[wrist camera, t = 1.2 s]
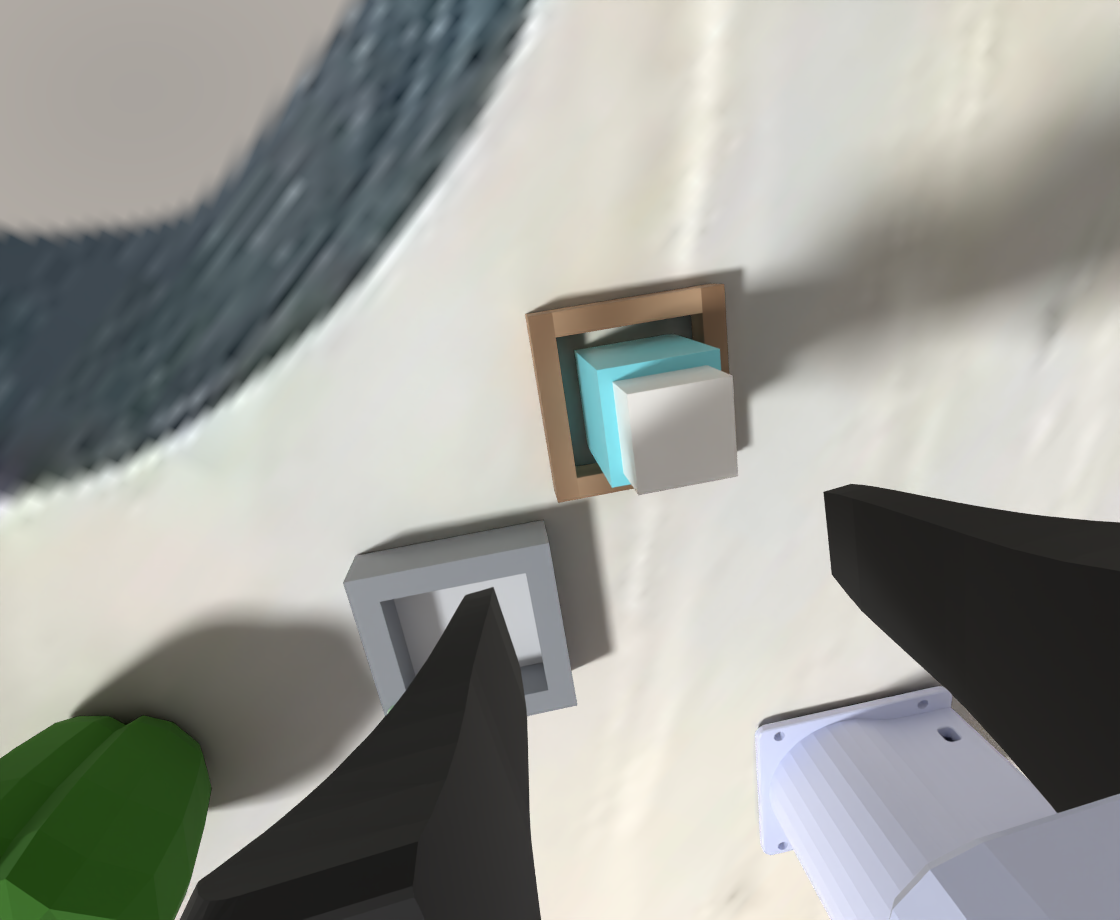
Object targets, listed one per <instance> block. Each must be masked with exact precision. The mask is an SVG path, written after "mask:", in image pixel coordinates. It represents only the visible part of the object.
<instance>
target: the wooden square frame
mask: <svg viewBox="0 0 1120 920" xmlns="http://www.w3.org/2000/svg"><path fill="white" fill-rule="evenodd" d="M686 315H691V325H692V338H693V340H694V341H697V342H700V343H703V344H706V345H709V346H712V347H716V348H719V349H720V360H721V371H723V372H725V373H727V374H729V363H728V344H727V326H726V307H725V289H724V284H705V285H699V286H693V287H687V288H681V289H675V290H669V291H663V292H656V293H650V294H644V295H638V296H632V297H626V298H620V299H614V300H608V301H602V302H596V303H590V304H584V305H578V306H572V307H566V308H560V309H554V310H547V311H541V312H535V313H529V314H525V316H526V322H527V328H528V334H529V340H530V346H531V352H532V358H533V364H534V370H535V376H536V382H537V388H538V394H539V400H540V406H541V413H542V419H543V425H544V431H545V437H546V443H547V449H548V455H549V461H550V467H551V473H552V479H553V485H554V491H555V494H556V497H557V500H558V503H560V502H565V501H570V500H576V499H581V498H586V497H591V496H597V495H602V494H607V493H613V492H618V491H623V490H629V489H634V488H633V486H632V485H631V484H629V485H624V486H619V487H613V488H612V487H611V485H610V483H609V482H608V480H607V478H606V477H605V475H604V473H603V472H602V470H601V468H600V466H599V465H598V463H593V464H588V465H582V466H577V467H575V462H574V455H573V449H572V442H571V436H570V429H569V422H568V416H567V409H566V402H565V396H564V389H563V382H562V376H561V369H560V363H559V356H558V349H557V343H556V337H562V336H568V335H573V334H579V333H585V332H591V331H597V330H603V329H609V328H615V327H621V326H627V325H633V324H639V323H645V322H651V321H656V320H662V319H668V318H674V317H680V316H686Z"/></svg>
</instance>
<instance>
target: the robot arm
mask: <svg viewBox="0 0 1120 920" xmlns="http://www.w3.org/2000/svg"><path fill="white" fill-rule="evenodd" d="M824 501H825V511H826V521H827V531H828V541H829V551H830V561H831V571H832V575H833V576H834V578H835V579H836V580H837V582H838V583H839V584H840V585H841V587H842V588H843V589H844V590H845V592H846V593H847V594H848V595H849V597H850V598H851V599H852V600H853V601H854V602H855V604H856V605H857V606H858V607H859V608H860V609H861V611H862V612H863V613H864V614H866V615H867V616H868V617H869V618H870V619H871V620H872V621H873V622H874V623H875V624H876V625H877V626H878V627H879V628H880V629H881V630H883V631H884V632H885V633H886V634H887V635H888V636H889V637H890V638H891V639H892V640H893V641H894V642H895V643H897V644H898V645H899V646H900V647H901V648H902V649H903V650H904V651H905V652H906V653H908V654H909V655H910V656H911V657H912V658H913V659H914V660H915V661H916V662H917V663H918V664H920V665H921V666H922V667H923V668H924V669H925V670H926V671H927V672H928V673H929V674H931V675H932V676H933V677H934V678H935V679H936V680H937V681H938V682H939V683H940V684H941V685H943V686H944V687H943V686H936V687H932V688H927V689H923V690H918V691H914V692H909V693H905V694H900V695H896V696H891V697H887V698H882V699H878V700H873V701H869V702H864V703H860V704H855V705H851V706H846V707H842V708H837V709H833V710H828V711H824V712H819V713H815V714H810V715H806V716H801V717H797V718H792V719H788V720H783V721H779V722H774V723H770V724H765V725H762V726H760V727H759V728H758V729H757V731H756V733H755V742H756V763H757V783H758V803H759V824H760V844H761V847H762V849H763V851H764V852H765V853H766V854H769V855H774V854H778V853H782V852H786V851H791V850H794V852H795V854H796V855H797V857H798V859H799V861H800V863H801V865H802V867H803V869H804V870H805V872H806V874H807V876H808V878H809V880H810V882H811V884H812V885H813V887H814V889H815V891H816V893H817V895H818V897H819V899H820V900H821V902H822V904H823V906H824V908H825V910H826V912H827V913H828V915H829V917H830V919H831V920H1120V523H1118V522H1103V521H1090V520H1080V519H1069V518H1059V517H1049V516H1040V515H1032V514H1025V513H1018V512H1011V511H1005V510H998V509H992V508H985V507H980V506H974V505H968V504H963V503H957V502H952V501H947V500H942V499H936V498H931V497H926V496H921V495H916V494H911V493H906V492H901V491H896V490H890V489H885V488H879V487H873V486H866V485H857V484H849V485H846V486H843V487H839V488H836V489H832V490H829V491H825V492H824ZM952 695H953V696H954V697H955V698H956V699H957V700H958V701H959V702H960V703H961V704H962V705H963V706H964V707H965V708H966V709H967V710H968V711H969V712H970V713H971V714H972V716H973V717H974V718H975V719H976V720H977V721H978V722H979V723H980V724H981V725H982V727H983V728H984V729H985V730H986V731H987V732H988V733H989V734H990V735H991V737H992V738H993V739H994V740H995V741H996V742H997V743H998V744H999V745H1000V747H1001V748H1002V749H1003V750H1004V751H1005V752H1006V753H1007V754H1008V756H1009V757H1010V758H1011V759H1012V760H1013V761H1014V763H1015V764H1016V765H1017V766H1018V767H1019V769H1020V770H1021V771H1022V772H1023V773H1024V774H1025V776H1026V777H1027V778H1028V779H1029V780H1030V781H1031V782H1030V781H1029V780H1028V779H1027V778H1026V777H1025V776H1024V775H1023V774H1022V773H1021V772H1020V771H1019V770H1018V769H1017V768H1015V767H1014V766H1013V765H1012V764H1011V763H1010V762H1009V761H1008V760H1007V759H1006V758H1005V757H1004V756H1003V755H1002V754H1000V753H999V752H998V751H997V750H996V749H995V748H994V747H993V746H992V745H991V744H990V743H989V742H988V741H987V740H985V739H984V738H983V737H982V736H981V735H980V734H979V733H978V732H977V731H976V730H975V729H974V728H973V727H972V726H970V725H969V724H968V723H967V722H966V721H965V720H964V719H963V718H962V717H961V716H960V715H959V714H958V713H957V712H955V711H954V710H953V709H952V708H951V703H952ZM778 732H779V733H778ZM776 733H778V734H776ZM180 920H541V916H540V908H539V901H538V893H537V884H536V876H535V868H534V860H533V852H532V843H531V830H530V813H529V773H528V734H527V709H526V702H525V695H524V688H523V682H522V675H521V669H520V664H519V661H518V658H517V655H516V652H515V649H514V646H513V643H512V640H511V637H510V634H509V631H508V628H507V625H506V622H505V619H504V617H503V614H502V611H501V608H500V605H499V602H498V599H497V596H496V593H495V590H494V587H491V588H488V589H484V590H481V591H477V592H474V593H470V594H467V595H465V596H464V598H463V599H462V601H461V603H460V604H459V606H458V608H457V609H456V611H455V613H454V615H453V616H452V618H451V620H450V622H449V624H448V625H447V627H446V629H445V631H444V632H443V634H442V636H441V637H440V639H439V641H438V642H437V644H436V646H435V647H434V649H433V651H432V652H431V654H430V656H429V657H428V659H427V660H426V662H425V663H424V665H423V666H422V668H421V669H420V671H419V672H418V673H417V675H416V676H415V678H414V679H413V681H412V682H411V684H410V685H409V687H408V688H407V690H406V691H405V692H404V694H403V695H402V696H401V698H400V699H399V700H398V701H397V703H396V704H395V705H394V706H393V708H392V709H391V710H390V711H389V713H388V714H387V715H386V716H385V717H384V718H383V720H382V721H381V722H380V723H379V724H378V726H377V727H376V728H375V729H374V730H373V731H372V732H371V734H370V735H369V736H368V737H367V738H366V739H365V740H364V741H363V742H362V743H361V744H360V745H359V746H358V747H357V748H356V749H355V750H354V751H353V752H352V753H351V754H350V755H349V756H348V757H347V758H346V759H345V760H344V762H343V763H342V764H341V765H340V766H339V767H338V768H337V769H336V770H335V771H334V772H333V773H332V774H331V775H330V776H329V777H328V778H327V779H325V780H324V781H323V782H322V783H321V784H320V785H319V786H318V787H317V788H316V789H314V790H313V791H312V792H311V793H310V794H309V795H308V796H307V797H306V798H305V799H303V800H302V801H301V802H300V803H299V804H298V805H296V806H295V807H294V808H293V809H292V810H291V811H289V812H288V813H287V814H286V815H285V816H284V817H282V818H281V819H280V820H279V821H278V822H276V823H275V824H274V825H273V826H271V827H270V828H269V829H268V830H266V831H265V832H264V833H263V834H261V835H260V836H259V837H257V838H256V839H255V840H253V841H252V842H251V843H249V844H248V845H247V846H245V847H244V848H243V849H241V850H240V851H239V852H238V853H236V854H235V855H234V856H232V857H231V858H230V859H228V860H227V861H226V862H224V863H223V864H222V865H220V866H219V867H218V868H216V869H215V870H214V871H212V872H211V873H210V874H208V875H207V876H205V877H204V878H202V879H201V880H200V881H198V883H197V885H196V887H195V889H194V891H193V893H192V895H191V897H190V899H189V901H188V903H187V906H186V908H185V910H184V912H183V914H182V916H181V918H180Z"/></svg>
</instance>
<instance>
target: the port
mask: <svg viewBox="0 0 1120 920" xmlns="http://www.w3.org/2000/svg"><path fill="white" fill-rule="evenodd" d="M343 584H344V587H345V590H346V593H347V596H348V600H349V603H350V606H351V609H352V612H353V615H354V619H355V622H356V625H357V628H358V631H359V635H360V638H361V641H362V644H363V647H364V650H365V654H366V657H367V660H368V663H369V666H370V670H371V673H372V676H373V679H374V682H375V685H376V689H377V692H378V695H379V698H380V701H381V705H382V708H383V711H384V714H385V716H386V715H387V714H388V713H389V711H390V710H391V709H392V708H393V706H394V705H395V704H396V703H397V701H398V700H399V699H400V698H401V696H402V695H403V694H404V692H405V691H406V690H407V688H408V687H409V685H410V684H411V682H412V681H413V679H414V678H415V676H416V675H417V673H418V672H419V671H420V669H421V668H422V666H423V665H424V663H425V662H426V660H427V659H428V657H429V656H430V654H431V652H432V651H433V649H434V647H435V646H436V644H437V642H438V641H439V639H440V637H441V636H442V634H443V632H444V631H445V629H446V627H447V625H448V624H449V622H450V620H451V618H452V616H453V615H454V613H455V611H456V609H457V608H458V606H459V604H460V603H461V601H462V599H463V598H464V596H465V595H467V594H470V593H474V592H477V591H481V590H484V589H488V588H491V587H494V590H495V593H496V596H497V599H498V602H499V605H500V608H501V611H502V614H503V617H504V619H505V622H506V625H507V628H508V631H509V634H510V637H511V640H512V643H513V646H514V649H515V652H516V655H517V658H518V661H519V664H520V669H521V675H522V682H523V688H524V695H525V702H526V709H527V716H530V715H534V714H539V713H544V712H548V711H553V710H558V709H562V708H567V707H572V706H576V705H577V700H576V695H575V689H574V683H573V678H572V672H571V666H570V660H569V655H568V649H567V643H566V638H565V632H564V626H563V620H562V615H561V609H560V603H559V597H558V592H557V586H556V580H555V575H554V569H553V563H552V557H551V552H550V546H549V541H548V537H547V532H546V528H545V524H544V520H540V521H535V522H530V523H524V524H519V525H514V526H509V527H503V528H498V529H493V530H488V531H482V532H477V533H472V534H467V535H461V536H456V537H451V538H446V539H440V540H435V541H430V542H425V543H419V544H414V545H409V546H404V547H398V548H393V549H388V550H383V551H377V552H372V553H367V554H362V555H356V556H355V558H354V560H353V563H352V565H351V567H350V569H349V571H348V573H347V576H346V578H345V580H344V582H343Z"/></svg>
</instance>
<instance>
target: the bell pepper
mask: <svg viewBox="0 0 1120 920" xmlns="http://www.w3.org/2000/svg"><path fill="white" fill-rule="evenodd" d="M211 789H212V788H211V784H210V780H209V775H208V771H207V768H206V764H205V761H204V757H203V753H202V750H201V748H200V745H199V743H198V742H197V741H196V740H194V739H193V738H192V737H191V736H189V735H188V734H187V733H186V732H184V731H183V730H182V729H181V728H180V727H178V726H177V725H176V724H175V723H173V722H170V721H166V720H161V719H157V718H153V717H149V716H144V715H143V716H141V717H139V718H138V719H136V720H134V721H132V722H131V723H129V724H127V725H125V724H123V723H121V722H119V721H118V720H116V719H114V718H112V717H110V716H77V717H74V718H71V719H67V720H64V721H61V722H57V723H54V724H53V725H51V726H50V727H48V728H47V729H45V730H43V731H42V732H40V733H39V734H37V735H35V736H34V737H32V738H31V739H29V740H27V741H26V742H24V743H23V744H21V745H19V746H18V747H16V748H15V749H13V750H12V751H10V752H9V753H8V754H6V755H5V756H3V757H2V758H0V920H174V919H175V917H176V915H177V913H178V911H179V908H180V906H181V904H182V902H183V900H184V897H185V895H186V892H187V889H188V886H189V883H190V880H191V877H192V873H193V869H194V865H195V861H196V857H197V853H198V849H199V846H200V842H201V838H202V834H203V830H204V826H205V821H206V816H207V811H208V805H209V800H210V794H211Z"/></svg>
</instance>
